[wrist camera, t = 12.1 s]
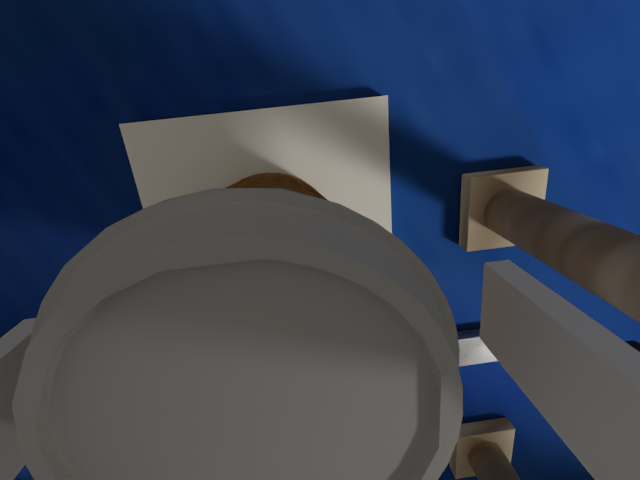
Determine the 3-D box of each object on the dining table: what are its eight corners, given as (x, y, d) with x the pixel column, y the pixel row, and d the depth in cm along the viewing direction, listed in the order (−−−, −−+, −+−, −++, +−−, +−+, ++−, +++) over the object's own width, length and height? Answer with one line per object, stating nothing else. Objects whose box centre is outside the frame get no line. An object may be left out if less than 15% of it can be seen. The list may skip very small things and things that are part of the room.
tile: (383, 95, 17) (387, 95, 16) (390, 312, 22) (394, 319, 21) (126, 123, 17) (118, 124, 16) (186, 339, 21) (183, 348, 20)
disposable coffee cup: (134, 195, 17) (-156, 371, 6) (315, 99, 16) (379, 91, 5) (239, 342, 20) (182, 632, 9) (394, 268, 20) (536, 489, 8)
